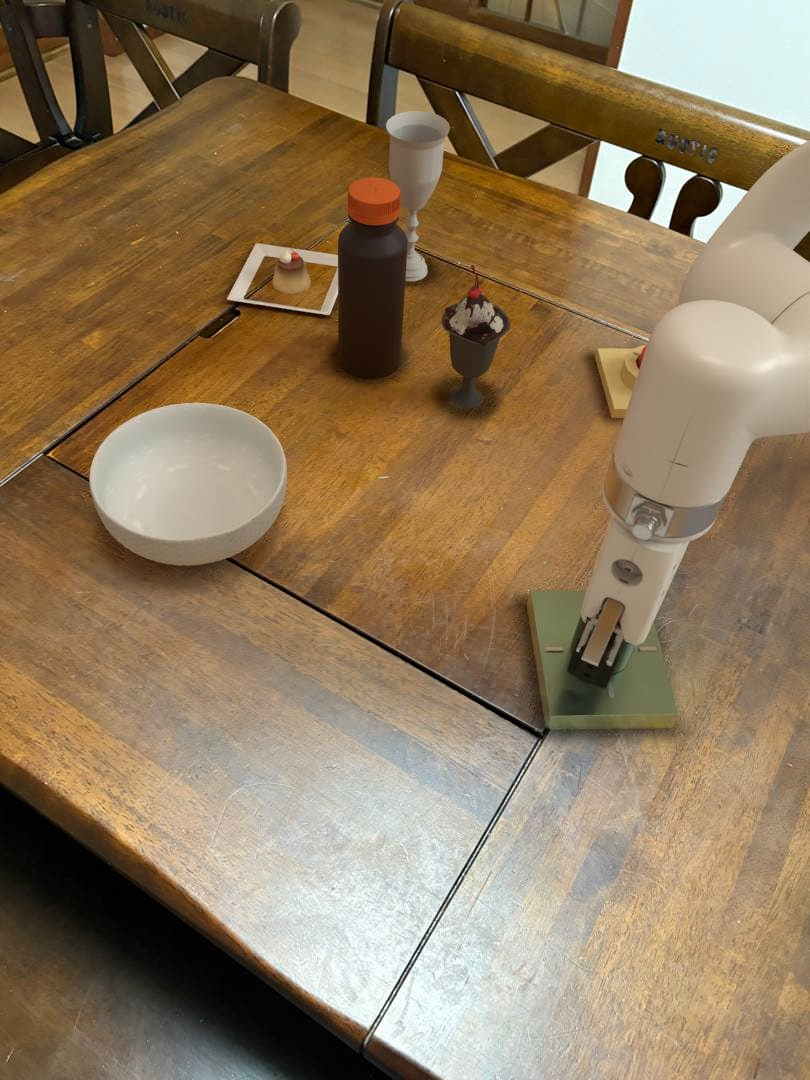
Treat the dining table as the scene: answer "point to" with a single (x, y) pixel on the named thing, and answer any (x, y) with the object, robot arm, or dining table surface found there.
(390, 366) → the bottle
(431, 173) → the chalice
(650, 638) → the panel
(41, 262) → the dining table surface
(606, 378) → the switch
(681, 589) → the dining table surface
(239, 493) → the cereal bowl
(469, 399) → the sundae
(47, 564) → the dining table surface
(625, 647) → the hob knob
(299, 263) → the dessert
